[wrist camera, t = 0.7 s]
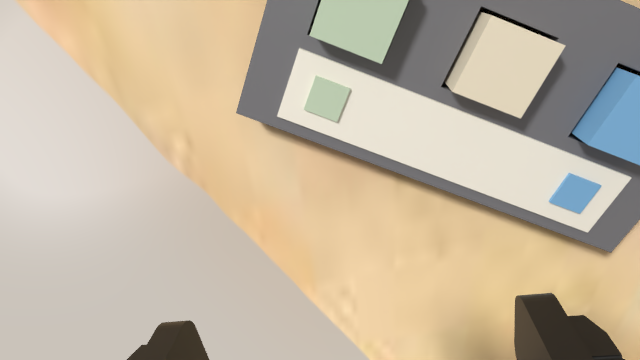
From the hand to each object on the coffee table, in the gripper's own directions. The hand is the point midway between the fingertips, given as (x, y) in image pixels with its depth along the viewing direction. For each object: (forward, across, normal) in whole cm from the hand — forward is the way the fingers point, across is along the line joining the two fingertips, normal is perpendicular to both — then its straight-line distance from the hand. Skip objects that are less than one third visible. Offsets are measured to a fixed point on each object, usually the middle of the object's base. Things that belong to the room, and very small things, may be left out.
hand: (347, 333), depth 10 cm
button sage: (+24, -1, -6) cm, 24 cm away
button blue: (+24, -18, +4) cm, 30 cm away
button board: (+25, -9, +1) cm, 27 cm away
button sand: (+24, -10, -1) cm, 26 cm away
